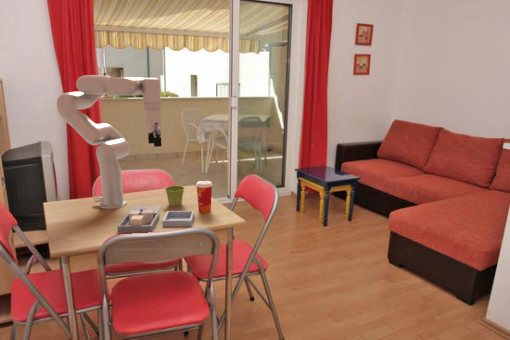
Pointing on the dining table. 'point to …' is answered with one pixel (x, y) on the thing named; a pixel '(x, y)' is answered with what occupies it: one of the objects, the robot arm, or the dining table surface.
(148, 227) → the bin
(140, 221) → the cream cube
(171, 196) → the plant pot
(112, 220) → the dining table surface
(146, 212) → the stone
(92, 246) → the dining table surface
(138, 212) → the stone
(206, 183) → the paper cup
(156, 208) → the lid board
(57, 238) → the dining table surface
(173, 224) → the bin
